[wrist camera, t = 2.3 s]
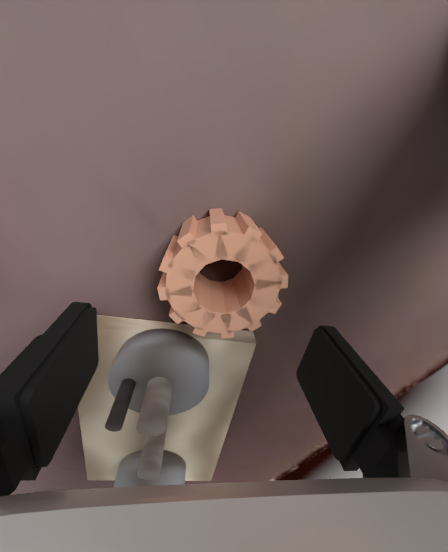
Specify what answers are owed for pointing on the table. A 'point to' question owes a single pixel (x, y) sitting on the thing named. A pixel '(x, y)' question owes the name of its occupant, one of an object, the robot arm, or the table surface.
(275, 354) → the table surface
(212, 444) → the board
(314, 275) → the table surface
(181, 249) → the gear
